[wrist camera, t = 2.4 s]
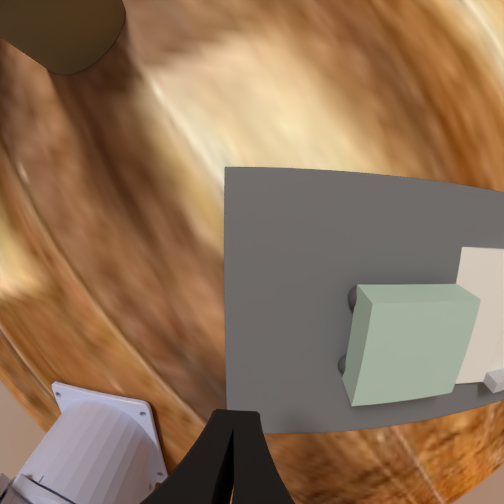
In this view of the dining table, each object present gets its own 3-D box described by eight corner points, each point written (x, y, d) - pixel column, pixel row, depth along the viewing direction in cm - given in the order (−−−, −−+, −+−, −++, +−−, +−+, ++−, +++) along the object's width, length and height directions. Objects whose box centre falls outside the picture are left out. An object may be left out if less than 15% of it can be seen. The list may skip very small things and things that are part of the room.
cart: (432, 362, 16) (455, 391, 13) (333, 370, 17) (345, 406, 13) (452, 278, 15) (485, 299, 12) (346, 278, 15) (365, 303, 12)
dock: (537, 380, 18) (558, 401, 14) (229, 423, 19) (223, 465, 15) (581, 211, 14) (611, 219, 11) (227, 167, 15) (215, 164, 11)
